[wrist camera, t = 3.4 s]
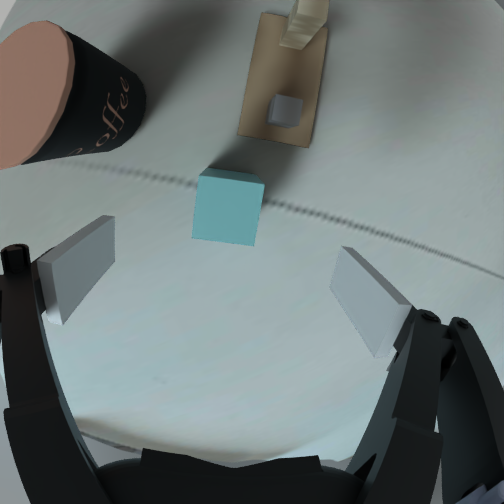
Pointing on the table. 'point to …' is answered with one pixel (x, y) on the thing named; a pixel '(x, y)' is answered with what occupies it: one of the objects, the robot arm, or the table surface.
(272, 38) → the stand
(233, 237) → the teal rectangular block
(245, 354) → the table surface
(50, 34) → the coffee jar
